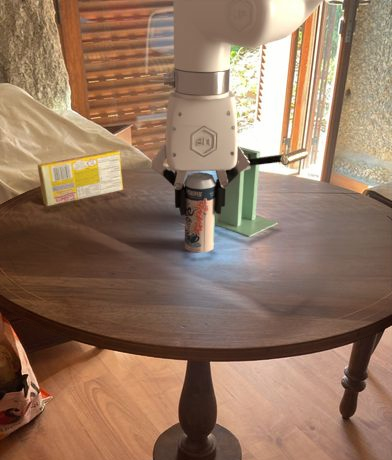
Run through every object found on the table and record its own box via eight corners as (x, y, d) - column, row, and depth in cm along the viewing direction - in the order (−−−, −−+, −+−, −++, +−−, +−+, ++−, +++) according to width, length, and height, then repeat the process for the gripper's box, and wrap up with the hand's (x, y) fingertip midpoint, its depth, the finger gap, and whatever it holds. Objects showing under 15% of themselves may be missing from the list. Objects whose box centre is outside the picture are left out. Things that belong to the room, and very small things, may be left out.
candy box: (118, 191, 115) (115, 149, 110) (124, 194, 113) (121, 151, 108) (43, 207, 107) (36, 163, 102) (47, 211, 105) (41, 166, 100)
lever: (308, 160, 88) (306, 144, 87) (290, 167, 85) (287, 151, 84) (244, 168, 97) (241, 153, 96) (225, 174, 94) (222, 159, 93)
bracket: (277, 229, 100) (284, 154, 92) (248, 242, 95) (254, 165, 88) (225, 211, 106) (228, 140, 99) (196, 222, 101) (197, 149, 94)
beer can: (178, 249, 92) (177, 175, 85) (200, 242, 94) (201, 169, 87) (197, 259, 89) (198, 184, 82) (220, 251, 91) (222, 177, 84)
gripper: (140, 89, 73) (145, 222, 84) (269, 87, 75) (258, 218, 86) (138, 78, 79) (143, 204, 90) (257, 77, 81) (249, 201, 92)
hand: (199, 210), depth 88 cm, fingers closed on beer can, 4 cm apart
